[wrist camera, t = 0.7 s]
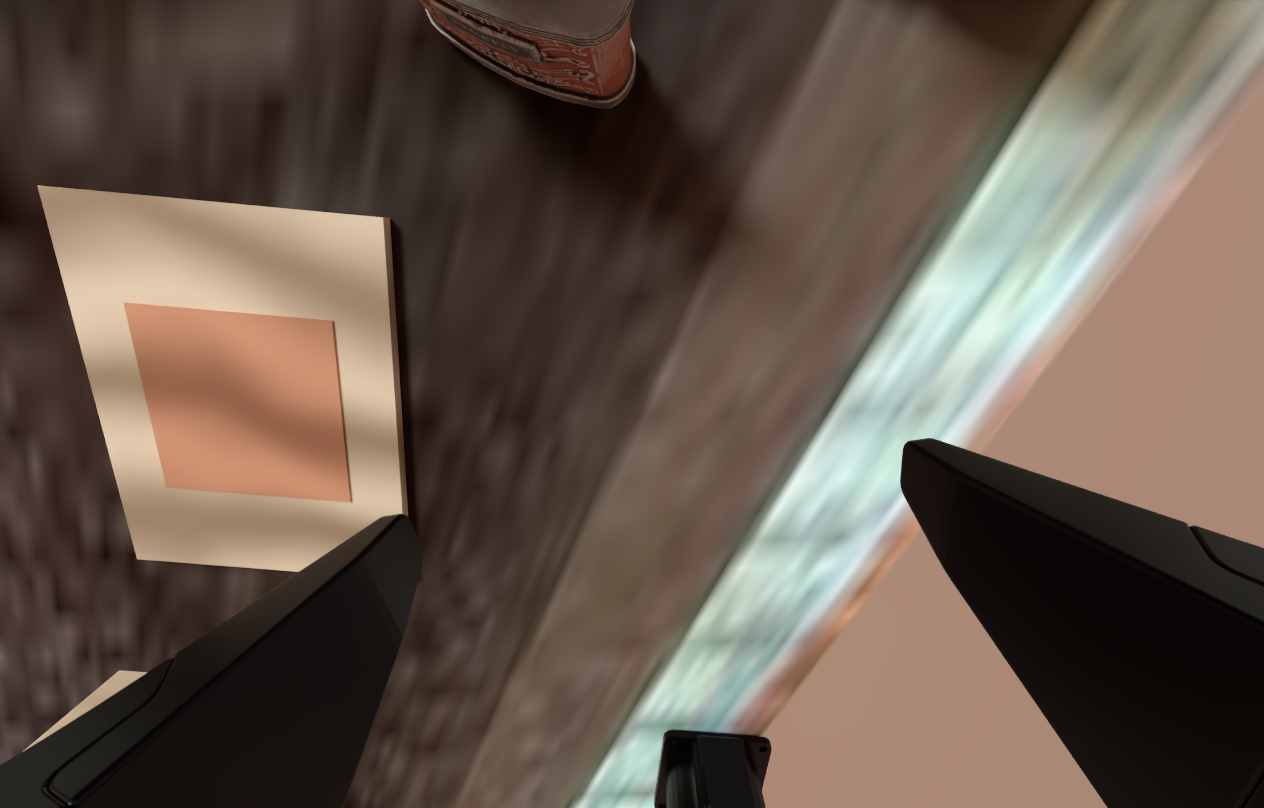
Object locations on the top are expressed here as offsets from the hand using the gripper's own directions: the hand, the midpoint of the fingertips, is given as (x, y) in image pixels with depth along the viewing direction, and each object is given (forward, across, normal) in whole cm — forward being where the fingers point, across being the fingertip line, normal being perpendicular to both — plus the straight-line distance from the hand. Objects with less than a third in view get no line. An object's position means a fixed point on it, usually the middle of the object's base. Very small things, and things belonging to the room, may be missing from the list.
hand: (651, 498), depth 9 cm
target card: (+14, +19, +2) cm, 24 cm away
